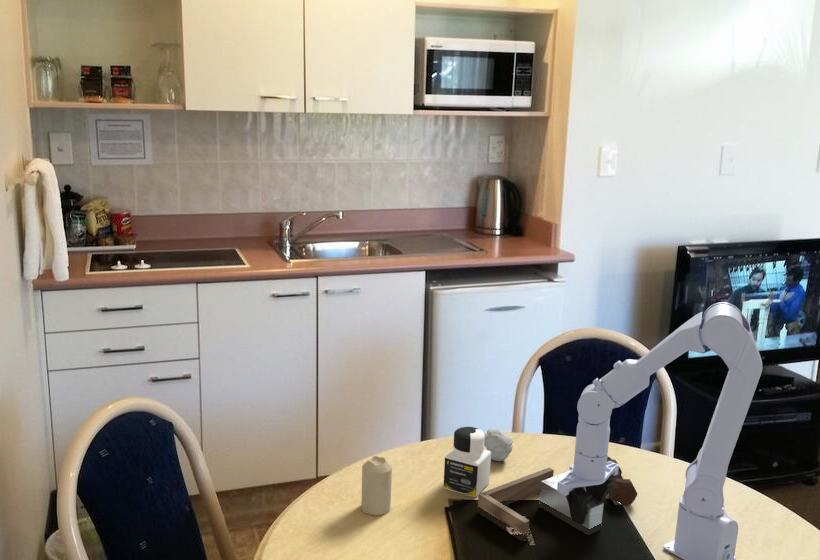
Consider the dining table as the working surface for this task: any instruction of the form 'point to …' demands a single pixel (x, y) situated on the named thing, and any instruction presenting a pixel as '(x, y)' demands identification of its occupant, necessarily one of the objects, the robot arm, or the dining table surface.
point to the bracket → (561, 504)
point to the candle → (376, 486)
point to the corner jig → (513, 498)
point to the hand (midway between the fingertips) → (584, 519)
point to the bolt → (621, 488)
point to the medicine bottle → (467, 463)
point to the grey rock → (498, 444)
